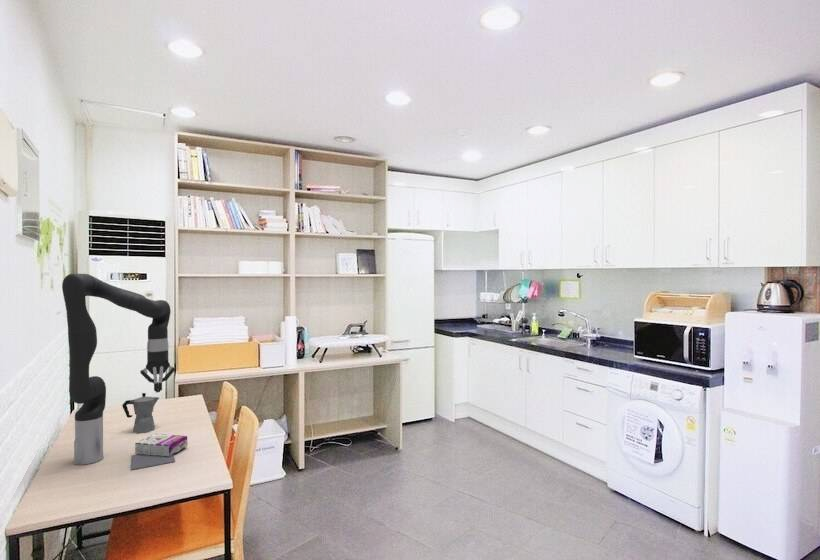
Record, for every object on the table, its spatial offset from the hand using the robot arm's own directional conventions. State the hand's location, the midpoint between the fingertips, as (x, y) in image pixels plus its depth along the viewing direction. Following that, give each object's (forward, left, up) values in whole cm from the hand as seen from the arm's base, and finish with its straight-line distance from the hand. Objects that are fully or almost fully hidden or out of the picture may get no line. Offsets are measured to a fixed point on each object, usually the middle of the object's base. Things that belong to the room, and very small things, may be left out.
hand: (158, 391), depth 183 cm
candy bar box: (+8, +2, -24) cm, 25 cm away
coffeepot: (-6, +42, -27) cm, 50 cm away
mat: (-2, 0, -27) cm, 27 cm away
